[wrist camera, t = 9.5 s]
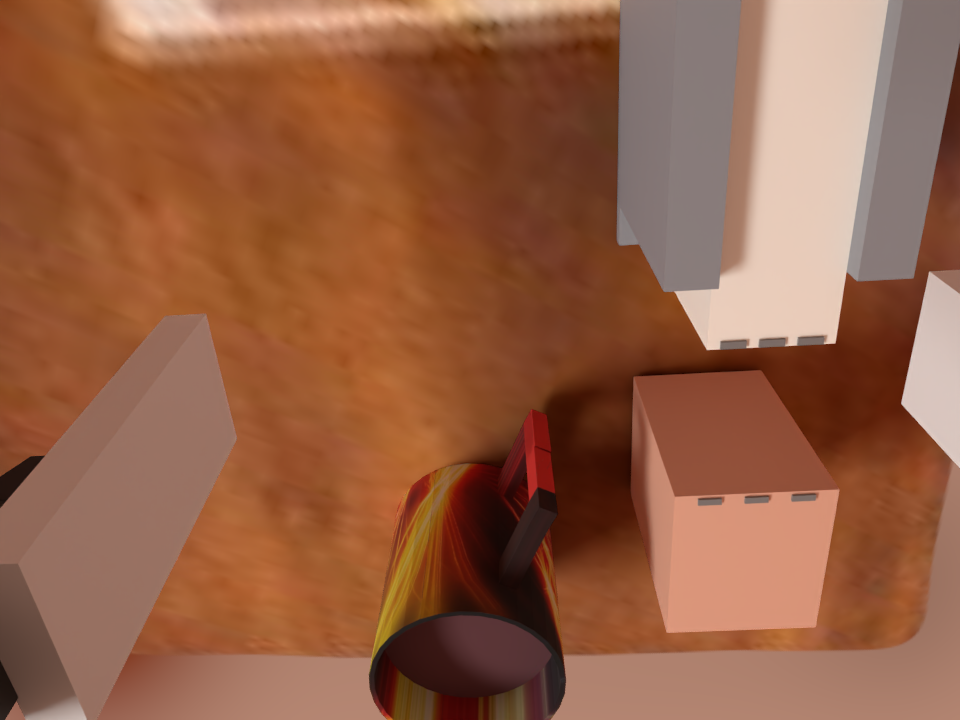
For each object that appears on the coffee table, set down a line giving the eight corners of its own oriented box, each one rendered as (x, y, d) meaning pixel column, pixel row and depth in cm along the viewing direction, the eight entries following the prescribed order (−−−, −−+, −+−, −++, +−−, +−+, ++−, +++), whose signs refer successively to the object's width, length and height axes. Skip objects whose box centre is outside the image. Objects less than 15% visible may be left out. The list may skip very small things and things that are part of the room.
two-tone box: (621, -82, 34) (681, -100, 23) (833, -97, 34) (992, -123, 23) (616, 258, 41) (660, 364, 30) (791, 248, 41) (898, 352, 30)
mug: (545, 397, 45) (562, 534, 34) (552, 582, 51) (568, 746, 41) (377, 406, 45) (341, 545, 35) (404, 589, 52) (382, 753, 41)
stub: (633, 376, 44) (675, 498, 34) (761, 370, 44) (840, 491, 34) (630, 493, 47) (667, 634, 38) (748, 488, 47) (816, 629, 37)
